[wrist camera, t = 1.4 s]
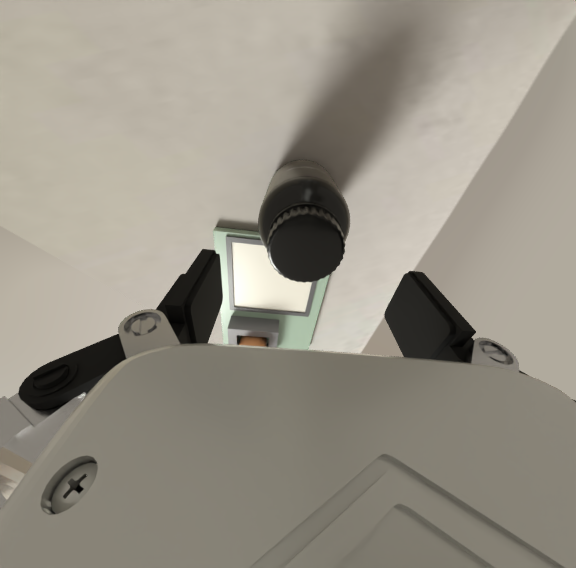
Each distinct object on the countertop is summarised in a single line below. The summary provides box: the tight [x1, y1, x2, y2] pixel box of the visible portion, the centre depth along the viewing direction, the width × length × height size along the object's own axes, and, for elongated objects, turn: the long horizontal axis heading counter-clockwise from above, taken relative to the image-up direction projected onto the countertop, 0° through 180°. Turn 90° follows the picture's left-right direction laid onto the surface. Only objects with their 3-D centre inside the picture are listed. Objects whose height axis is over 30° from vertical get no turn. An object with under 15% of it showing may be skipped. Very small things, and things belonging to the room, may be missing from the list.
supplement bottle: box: [258, 160, 350, 283], centre depth 18 cm, size 7×7×12 cm
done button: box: [239, 336, 267, 347], centre depth 32 cm, size 4×4×4 cm
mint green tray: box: [213, 227, 329, 350], centre depth 30 cm, size 20×14×4 cm
